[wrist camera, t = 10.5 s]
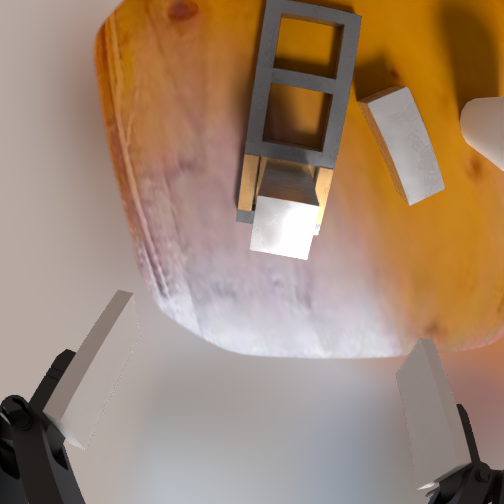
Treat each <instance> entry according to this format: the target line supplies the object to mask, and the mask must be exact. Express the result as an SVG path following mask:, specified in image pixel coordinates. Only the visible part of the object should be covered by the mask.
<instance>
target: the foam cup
mask: <svg viewBox="0 0 504 504" xmlns="http://www.w3.org/2000/svg"><path fill="white" fill-rule="evenodd" d="M460 127H461V132H462V135H463V137H464V138H465V140H466V142H467V144H469V145H470V146H471V147H473V148H474V149H476V150H477V151H478V152H480V153H481V154H482V155H484V156H485V157H486V158H487V159H489V160H490V161H491V162H493V163H494V164H495V165H496V166H498V167H499V168H500V169H501V170H502V171H504V97H488V98H477V99H473V100H471V101H469V102H467V103H466V105H465V106H464V108H463V109H462V111H461V117H460Z"/></svg>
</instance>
